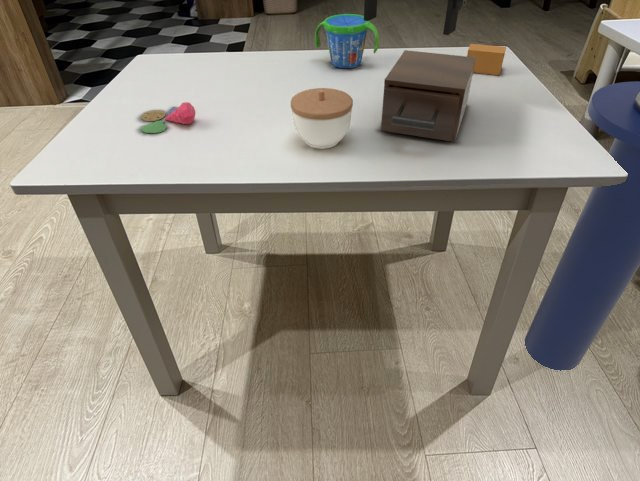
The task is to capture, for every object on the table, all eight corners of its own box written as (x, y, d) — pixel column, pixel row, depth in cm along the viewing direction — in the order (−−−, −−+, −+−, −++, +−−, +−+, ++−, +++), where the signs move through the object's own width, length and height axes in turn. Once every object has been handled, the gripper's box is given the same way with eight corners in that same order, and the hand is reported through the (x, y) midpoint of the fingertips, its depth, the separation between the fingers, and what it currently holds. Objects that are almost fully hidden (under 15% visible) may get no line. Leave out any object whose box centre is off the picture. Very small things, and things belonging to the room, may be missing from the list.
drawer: (446, 157, 76) (454, 113, 71) (373, 145, 80) (376, 102, 74) (462, 107, 90) (470, 67, 85) (400, 98, 94) (403, 60, 89)
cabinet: (455, 142, 82) (465, 89, 75) (380, 130, 86) (384, 79, 79) (466, 106, 93) (476, 57, 86) (400, 97, 97) (404, 50, 90)
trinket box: (330, 121, 89) (330, 74, 82) (363, 144, 82) (365, 94, 76) (282, 137, 84) (278, 87, 78) (312, 162, 78) (311, 110, 71)
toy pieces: (204, 107, 95) (200, 87, 92) (192, 133, 86) (187, 111, 83) (147, 108, 95) (141, 88, 92) (130, 134, 87) (123, 112, 84)
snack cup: (307, 66, 111) (306, 22, 105) (327, 52, 118) (326, 10, 112) (366, 76, 106) (369, 30, 99) (383, 61, 113) (386, 17, 106)
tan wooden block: (500, 68, 108) (506, 46, 104) (499, 75, 105) (504, 53, 101) (466, 64, 110) (470, 43, 107) (464, 71, 107) (468, 49, 103)
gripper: (326, -154, 60) (328, 19, 74) (517, -160, 48) (476, 46, 62) (356, -155, 64) (352, 8, 78) (538, -160, 53) (495, 31, 67)
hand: (407, 25), depth 70 cm, fingers open, 13 cm apart
